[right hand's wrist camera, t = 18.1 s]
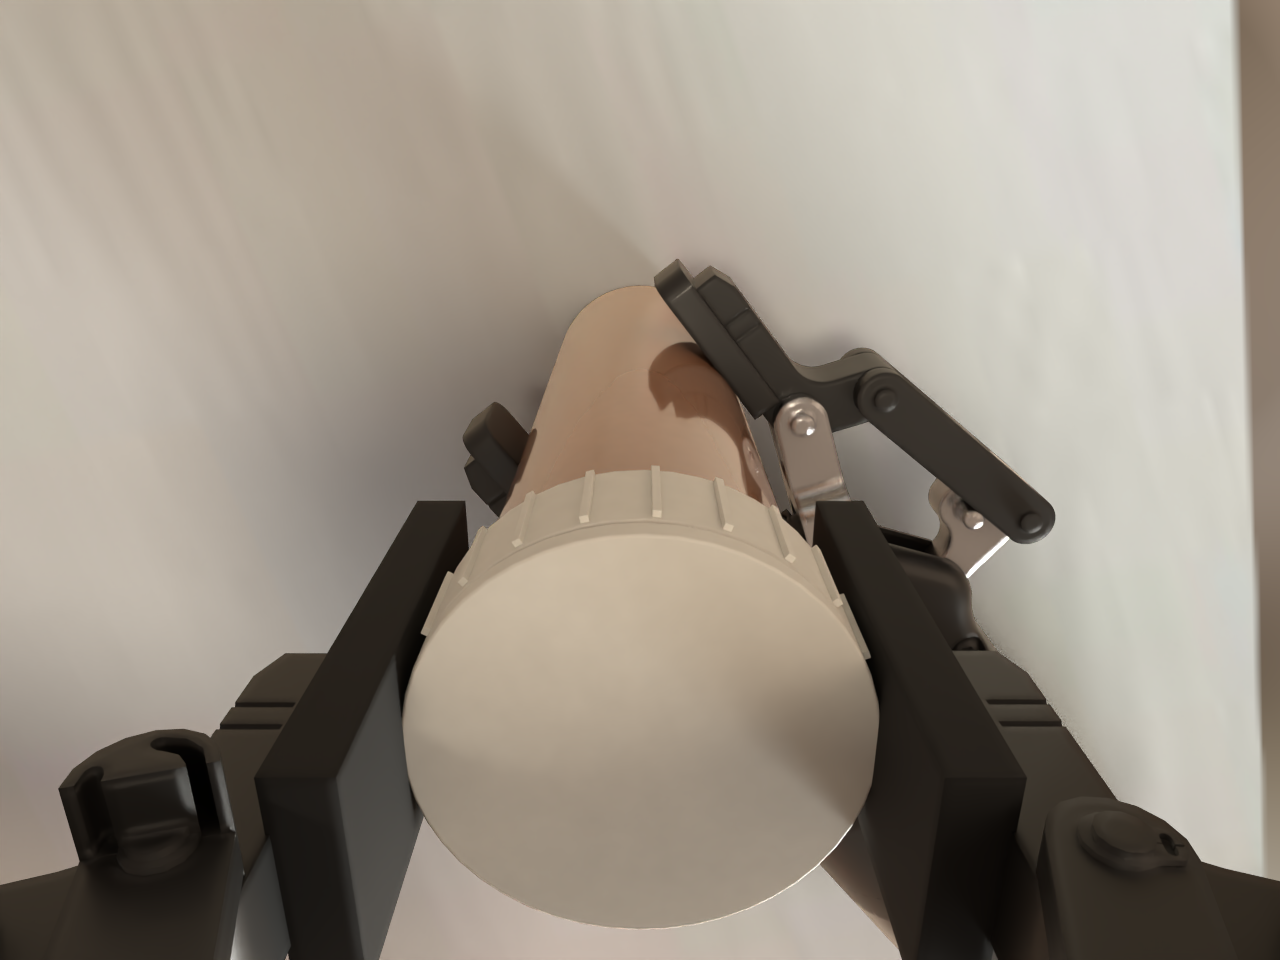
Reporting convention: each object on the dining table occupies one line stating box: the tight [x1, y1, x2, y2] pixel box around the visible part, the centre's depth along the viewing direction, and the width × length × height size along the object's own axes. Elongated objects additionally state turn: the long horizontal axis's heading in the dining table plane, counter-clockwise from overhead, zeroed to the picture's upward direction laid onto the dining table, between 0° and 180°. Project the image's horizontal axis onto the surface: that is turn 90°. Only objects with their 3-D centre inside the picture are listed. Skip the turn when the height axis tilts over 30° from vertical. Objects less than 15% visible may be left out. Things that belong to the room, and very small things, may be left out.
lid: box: [402, 465, 879, 930], centre depth 12 cm, size 6×6×2 cm
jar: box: [499, 286, 782, 519], centre depth 19 cm, size 5×5×18 cm
